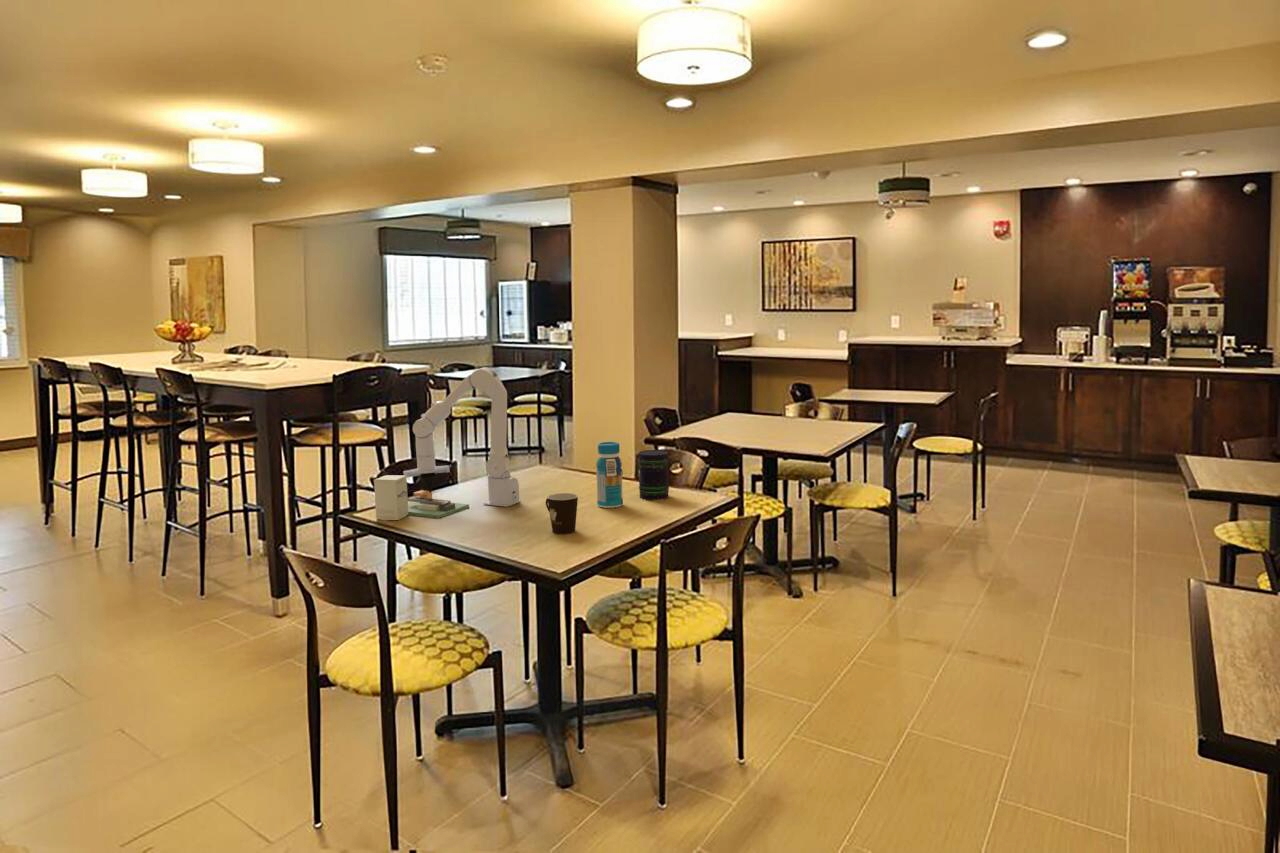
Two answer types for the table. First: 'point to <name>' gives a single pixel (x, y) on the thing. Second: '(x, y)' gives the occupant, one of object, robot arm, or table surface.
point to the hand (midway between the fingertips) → (428, 496)
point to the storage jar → (653, 474)
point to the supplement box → (391, 497)
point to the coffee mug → (562, 512)
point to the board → (434, 509)
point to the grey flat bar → (429, 500)
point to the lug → (424, 494)
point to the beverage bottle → (609, 476)
